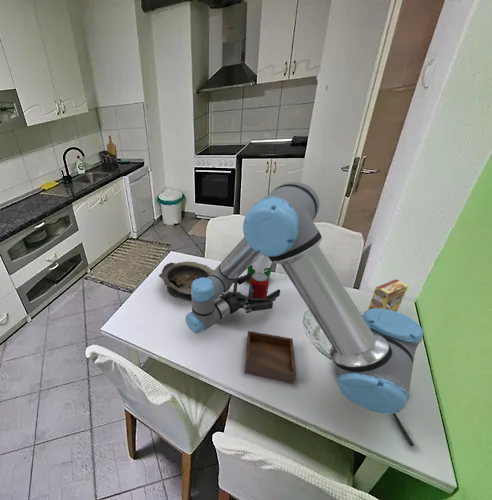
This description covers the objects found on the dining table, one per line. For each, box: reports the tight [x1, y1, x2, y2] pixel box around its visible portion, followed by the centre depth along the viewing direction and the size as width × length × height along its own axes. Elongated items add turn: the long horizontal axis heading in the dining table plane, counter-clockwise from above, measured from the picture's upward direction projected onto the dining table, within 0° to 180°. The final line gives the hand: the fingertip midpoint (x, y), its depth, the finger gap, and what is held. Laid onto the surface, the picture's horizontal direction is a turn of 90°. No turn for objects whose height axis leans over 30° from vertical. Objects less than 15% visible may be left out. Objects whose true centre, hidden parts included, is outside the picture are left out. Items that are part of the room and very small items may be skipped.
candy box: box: [367, 278, 410, 312], centre depth 92 cm, size 9×4×15 cm, turn 110°
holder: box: [244, 330, 297, 385], centre depth 87 cm, size 14×14×4 cm
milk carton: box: [246, 255, 273, 284], centre depth 117 cm, size 9×9×20 cm
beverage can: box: [248, 273, 270, 298], centre depth 109 cm, size 7×7×12 cm
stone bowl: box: [158, 261, 215, 301], centre depth 121 cm, size 25×25×9 cm
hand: (264, 283), depth 109 cm, fingers open, 13 cm apart
